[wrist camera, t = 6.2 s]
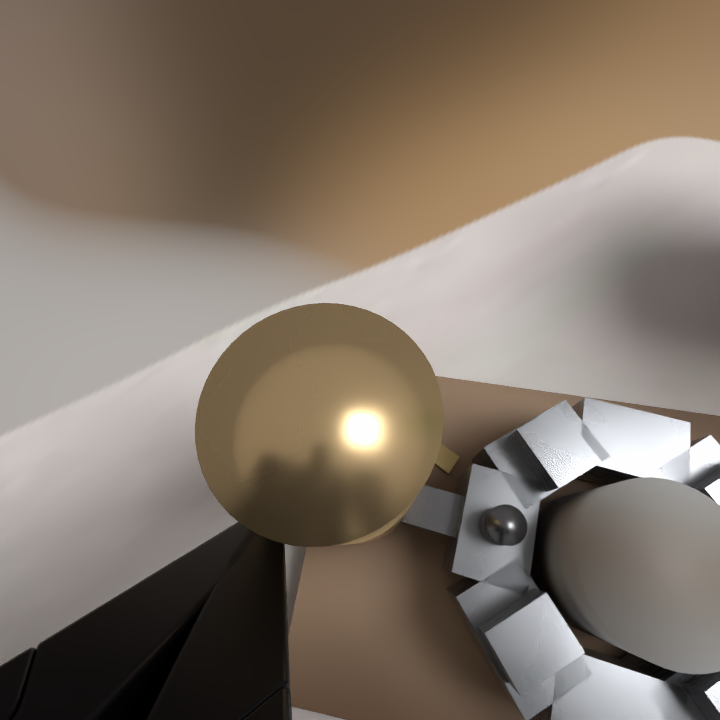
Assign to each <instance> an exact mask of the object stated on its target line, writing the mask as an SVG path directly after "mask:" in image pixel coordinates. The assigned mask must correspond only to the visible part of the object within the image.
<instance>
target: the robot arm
mask: <svg viewBox="0 0 720 720" xmlns="http://www.w3.org/2000/svg"><path fill="white" fill-rule="evenodd" d="M0 720H292V710H291V691H290V669H289V644H288V619H287V594H286V569H285V544H284V543H280V542H276V541H273V540H271V539H268V538H266V537H263V536H261V535H258V534H257V533H255V532H253V531H252V530H250V529H248V528H247V527H245V526H243V525H242V524H241V523H240V522H237V523H236V524H234V525H232V526H231V527H229V528H227V529H226V530H224V531H222V532H221V533H219V534H218V535H216V536H214V537H213V538H211V539H209V540H208V541H206V542H204V543H203V544H201V545H200V546H198V547H196V548H195V549H193V550H191V551H190V552H188V553H186V554H185V555H183V556H182V557H180V558H178V559H177V560H175V561H173V562H172V563H170V564H168V565H167V566H165V567H164V568H162V569H160V570H159V571H157V572H155V573H154V574H152V575H150V576H149V577H147V578H146V579H144V580H142V581H141V582H139V583H137V584H136V585H134V586H132V587H131V588H129V589H128V590H126V591H124V592H123V593H121V594H119V595H118V596H116V597H114V598H113V599H111V600H110V601H108V602H106V603H105V604H103V605H101V606H100V607H98V608H96V609H95V610H93V611H92V612H90V613H88V614H87V615H85V616H83V617H82V618H80V619H78V620H77V621H75V622H74V623H72V624H70V625H69V626H67V627H65V628H64V629H62V630H60V631H59V632H57V633H56V634H54V635H52V636H51V637H49V638H47V639H46V640H44V641H42V642H41V643H40V644H39V645H38V646H37V649H35V648H29V649H27V650H26V651H24V652H23V653H21V654H19V655H18V656H16V657H14V658H13V659H11V660H9V661H8V662H6V663H4V664H3V665H1V666H0Z"/></svg>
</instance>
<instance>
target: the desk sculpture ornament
mask: <svg viewBox="0 0 720 720" xmlns="http://www.w3.org/2000/svg"><path fill="white" fill-rule="evenodd" d="M443 413H444V412H443V404H442V396H441V392H440V389H439V385H438V381H437V379H436V376H435V374H434V372H433V369H432V367H431V365H430V363H429V362H428V360H427V358H426V357H425V355H424V353H423V352H422V351H421V349H420V348H419V347H418V346H417V344H416V343H415V342H414V341H413V340H412V339H411V338H410V337H409V336H408V335H407V334H406V333H405V332H404V331H403V330H401V329H400V328H399V327H397V326H396V325H395V324H393V323H392V322H390V321H388V320H387V319H385V318H383V317H382V316H380V315H377V314H375V313H373V312H370V311H368V310H365V309H361V308H358V307H354V306H349V305H343V304H332V303H319V304H308V305H303V306H297V307H293V308H290V309H287V310H283V311H280V312H278V313H276V314H273V315H271V316H269V317H267V318H265V319H263V320H262V321H260V322H258V323H256V324H255V325H253V326H252V327H250V328H249V329H248V330H246V331H245V332H244V333H242V334H241V335H240V336H239V337H238V338H237V339H236V340H235V341H234V342H233V343H231V345H230V346H229V347H228V348H227V349H226V350H225V352H224V353H223V354H222V355H221V356H220V358H219V359H218V361H217V362H216V364H215V365H214V367H213V368H212V370H211V372H210V374H209V376H208V378H207V380H206V382H205V385H204V387H203V390H202V393H201V396H200V399H199V404H198V408H197V413H196V423H195V442H196V449H197V455H198V460H199V463H200V466H201V469H202V473H203V475H204V477H205V479H206V482H207V484H208V486H209V488H210V490H211V491H212V493H213V494H214V496H215V497H216V499H217V500H218V502H219V503H220V504H221V505H222V506H223V507H224V508H225V510H226V511H227V512H228V513H229V514H230V515H231V516H232V517H234V518H235V519H236V520H237V521H238V522H240V523H241V524H242V525H243V526H245V527H247V528H248V529H250V530H252V531H253V532H255V533H257V534H258V535H261V536H263V537H266V538H268V539H271V540H273V541H276V542H280V543H284V544H288V545H293V546H303V547H323V546H337V545H349V544H361V543H370V542H374V541H377V540H380V539H382V538H384V537H386V536H387V535H389V534H390V533H391V532H392V531H393V530H394V529H396V527H397V526H398V525H399V524H400V522H401V523H404V524H408V525H411V526H414V527H418V528H421V529H424V530H427V531H431V532H434V533H437V534H441V535H444V536H447V537H449V538H448V543H447V548H446V553H445V558H444V563H443V568H444V569H447V570H449V571H451V572H453V573H456V574H459V575H463V576H465V577H464V578H462V579H460V580H459V581H457V582H456V583H454V584H453V585H451V586H449V587H448V588H446V589H447V591H448V593H449V595H450V597H451V598H452V600H453V602H454V604H455V606H456V607H457V609H458V611H459V613H460V615H461V616H462V618H463V620H464V622H465V624H466V625H467V627H468V629H469V631H470V632H471V634H472V636H473V638H474V640H475V641H476V643H477V645H478V647H479V649H480V650H481V652H482V654H483V656H484V658H485V659H486V661H487V663H488V665H489V666H490V668H491V670H492V672H493V674H494V675H495V677H496V679H497V681H498V683H499V684H500V686H501V688H502V690H503V692H504V693H505V694H506V696H507V697H508V698H509V700H510V701H511V702H512V704H513V705H514V706H515V707H516V709H517V710H518V711H519V713H520V714H521V715H522V717H523V718H524V719H525V720H529V719H531V720H720V671H719V672H714V673H708V674H687V673H680V672H676V671H672V670H668V669H665V668H663V667H660V666H658V665H655V664H653V663H651V662H649V661H647V660H644V659H642V658H640V657H638V656H636V655H634V654H631V653H628V654H626V655H625V656H624V657H622V658H621V659H619V658H616V657H613V656H610V655H607V654H604V653H601V652H598V651H595V650H592V649H589V648H586V647H583V646H581V645H580V644H579V642H578V641H577V639H576V638H575V636H574V634H573V633H572V631H571V630H570V628H569V627H568V625H567V623H566V622H565V620H564V619H563V617H562V616H561V614H560V613H559V611H558V609H557V608H556V606H555V605H554V603H553V602H552V600H551V599H550V597H549V595H548V594H547V592H544V591H541V590H539V589H538V587H537V585H536V584H535V582H534V581H533V579H532V578H531V576H530V573H531V565H532V558H533V550H534V542H535V535H536V527H537V520H538V512H539V505H540V500H542V499H543V498H545V497H546V496H548V495H550V494H551V493H553V492H554V491H556V490H558V489H559V488H561V487H562V486H564V485H566V484H567V483H569V482H571V481H572V480H574V479H575V478H577V479H581V480H585V481H588V482H592V483H596V484H599V485H603V486H605V485H609V484H613V483H617V482H621V481H625V480H629V479H634V478H640V477H655V478H664V479H668V480H673V481H676V482H679V483H682V484H685V485H687V486H690V487H692V488H694V489H696V490H698V491H700V492H701V493H703V494H705V495H706V496H708V497H709V498H711V499H712V500H714V501H715V502H716V503H718V504H719V505H720V445H719V443H718V442H717V441H716V440H715V439H714V438H713V437H712V436H711V435H708V436H705V437H702V438H699V439H696V440H693V441H690V422H686V421H682V420H678V419H674V418H670V417H666V416H661V415H657V414H653V413H649V412H645V411H641V410H636V409H632V408H628V407H624V406H620V405H616V404H611V403H607V402H603V401H599V400H595V399H591V398H586V397H584V398H583V399H582V400H580V401H579V402H578V403H576V404H575V405H574V406H572V407H571V406H570V405H569V403H568V402H567V401H566V400H564V401H562V402H560V403H559V404H557V405H555V406H554V407H552V408H550V409H549V410H547V411H545V412H543V413H542V414H540V415H538V416H537V417H535V418H533V419H532V420H530V421H528V422H526V423H525V424H523V425H521V426H520V427H518V428H516V429H515V430H513V431H511V432H509V433H508V434H506V435H504V436H503V437H501V438H499V439H498V440H496V441H494V442H492V443H491V444H489V445H487V446H486V447H484V448H483V449H482V450H481V451H480V452H479V453H478V454H477V455H476V456H475V457H474V458H473V459H472V460H471V461H472V463H473V464H472V465H471V466H469V467H468V468H467V469H466V470H465V471H464V472H463V473H462V474H461V478H460V483H459V488H458V493H457V494H454V493H451V492H447V491H444V490H440V489H437V488H433V487H430V486H426V485H424V484H425V483H426V481H427V479H428V478H429V476H430V474H431V471H432V469H433V467H434V465H435V462H436V460H437V456H438V453H439V449H440V446H441V440H442V434H443Z"/></svg>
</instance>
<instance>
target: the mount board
mask: <svg viewBox="0 0 720 720" xmlns="http://www.w3.org/2000/svg"><path fill="white" fill-rule="evenodd" d="M436 379H437V381H438V385H439V389H440V392H441V396H442V404H443V412H444V413H443V434H442V440H441V446H440V449H439V453H438V456H437V460H436V462H435V465H434V467H433V469H432V471H431V474H430V476H429V478H428V479H427V481H426V483H425V484H424V485H426V486H430V487H433V488H437V489H440V490H444V491H447V492H451V493H454V494H457V493H458V488H459V483H460V478H461V474H462V473H463V472H464V471H465V470H466V469H467V468H468V467H469V466H471V465H472V464H473V463H472V461H471V460H472V459H473V458H474V457H475V456H476V455H477V454H478V453H479V452H480V451H481V450H482V449H483V448H484V447H486V446H487V445H489V444H491V443H492V442H494V441H496V440H498V439H499V438H501V437H503V436H504V435H506V434H508V433H509V432H511V431H513V430H515V429H516V428H518V427H520V426H521V425H523V424H525V423H526V422H528V421H530V420H532V419H533V418H535V417H537V416H538V415H540V414H542V413H543V412H545V411H547V410H549V409H550V408H552V407H554V406H555V405H557V404H559V403H560V402H562V401H564V400H566V401H567V402H568V403H569V405H570V406H571V407H572V406H574V405H575V404H576V403H578V402H579V401H580V400H582V399H583V398H584V397H580V396H573V395H566V394H559V393H552V392H545V391H538V390H531V389H523V388H516V387H509V386H502V385H495V384H488V383H481V382H474V381H467V380H460V379H453V378H446V377H438V376H436ZM586 398H587V397H586ZM591 399H594V398H591ZM595 400H599V401H603V402H607V403H611V404H616V405H620V406H624V407H628V408H632V409H636V410H641V411H645V412H649V413H653V414H657V415H661V416H666V417H670V418H674V419H678V420H682V421H686V422H690V441H693V440H696V439H699V438H702V437H705V436H708V435H711V436H712V437H713V438H714V439H715V440H716V441H717V442H718V443H719V445H720V416H715V415H708V414H701V413H694V412H686V411H679V410H672V409H665V408H658V407H651V406H644V405H637V404H630V403H623V402H616V401H609V400H601V399H595ZM448 538H449V537H447V536H444V535H441V534H437V533H434V532H431V531H427V530H424V529H421V528H418V527H414V526H411V525H408V524H404V523H401V522H400V524H399V525H398V526H397V527H396V529H394V530H393V531H392V532H391V533H390V534H389V535H387V536H386V537H384V538H382V539H380V540H377V541H374V542H370V543H361V544H349V545H337V546H323V547H306V551H305V556H304V561H303V566H302V571H301V576H300V581H299V586H298V591H297V595H296V600H295V605H294V610H293V615H292V620H291V625H290V630H289V635H288V644H289V669H290V691H291V706H293V707H297V708H301V709H305V710H309V711H313V712H318V713H322V714H326V715H330V716H334V717H338V718H342V719H346V720H525V719H524V718H523V717H522V715H521V714H520V713H519V711H518V710H517V709H516V707H515V706H514V705H513V704H512V702H511V701H510V700H509V698H508V697H507V696H506V694H505V693H504V692H503V690H502V688H501V686H500V684H499V683H498V681H497V679H496V677H495V675H494V674H493V672H492V670H491V668H490V666H489V665H488V663H487V661H486V659H485V658H484V656H483V654H482V652H481V650H480V649H479V647H478V645H477V643H476V641H475V640H474V638H473V636H472V634H471V632H470V631H469V629H468V627H467V625H466V624H465V622H464V620H463V618H462V616H461V615H460V613H459V611H458V609H457V607H456V606H455V604H454V602H453V600H452V598H451V597H450V595H449V593H448V591H447V589H446V588H448V587H449V586H451V585H453V584H454V583H456V582H457V581H459V580H460V579H462V578H464V577H465V576H463V575H459V574H456V573H453V572H451V571H449V570H447V569H444V568H443V563H444V558H445V553H446V548H447V543H448ZM530 576H531V578H532V579H533V581H534V582H535V584H536V585H537V587H538V589H539V590H541V591H544V592H547V594H548V595H549V597H550V599H551V600H552V602H553V603H554V605H555V606H556V608H557V609H558V611H559V613H560V614H561V616H562V617H563V619H564V620H565V622H566V623H567V625H568V627H569V628H570V630H571V631H572V633H573V634H574V636H575V638H576V639H577V641H578V642H579V644H580V645H581V646H583V647H586V648H589V649H592V650H595V651H598V652H601V653H604V654H607V655H610V656H613V657H616V658H619V659H621V658H622V657H624V656H625V655H626V654H628V653H631V654H634V655H636V656H638V657H640V658H642V659H644V660H647V661H649V662H651V663H653V664H655V665H658V666H660V667H663V668H665V669H668V670H672V671H676V672H680V673H687V674H708V673H714V672H719V671H720V505H719V504H718V503H716V502H715V501H714V500H712V499H711V498H709V497H708V496H706V495H705V494H703V493H701V492H700V491H698V490H696V489H694V488H692V487H690V486H687V485H685V484H682V483H679V482H676V481H673V480H668V479H664V478H655V477H640V478H634V479H629V480H625V481H621V482H617V483H613V484H609V485H605V486H603V485H599V484H596V483H592V482H588V481H585V480H581V479H577V478H575V479H574V480H572V481H571V482H569V483H567V484H566V485H564V486H562V487H561V488H559V489H558V490H556V491H554V492H553V493H551V494H550V495H548V496H546V497H545V498H543V499H542V500H540V505H539V512H538V520H537V527H536V535H535V542H534V550H533V558H532V565H531V573H530ZM529 720H531V719H529Z"/></svg>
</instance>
